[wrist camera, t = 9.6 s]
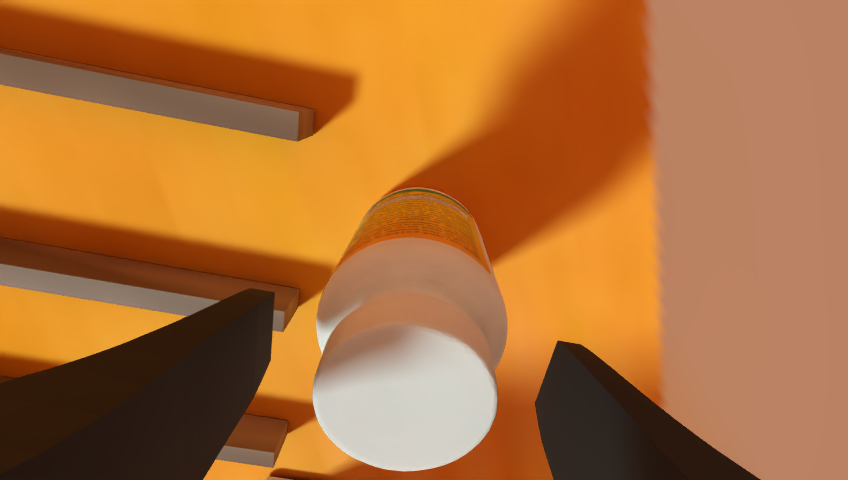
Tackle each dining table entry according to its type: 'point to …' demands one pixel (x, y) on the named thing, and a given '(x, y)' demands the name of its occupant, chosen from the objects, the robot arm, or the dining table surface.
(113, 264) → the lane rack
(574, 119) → the dining table surface
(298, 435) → the dining table surface
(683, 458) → the robot arm
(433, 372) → the supplement bottle
